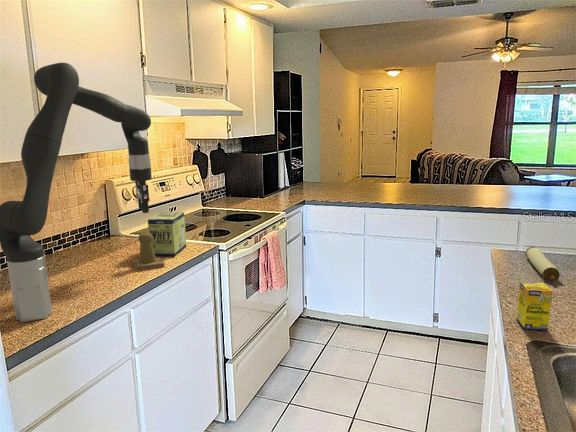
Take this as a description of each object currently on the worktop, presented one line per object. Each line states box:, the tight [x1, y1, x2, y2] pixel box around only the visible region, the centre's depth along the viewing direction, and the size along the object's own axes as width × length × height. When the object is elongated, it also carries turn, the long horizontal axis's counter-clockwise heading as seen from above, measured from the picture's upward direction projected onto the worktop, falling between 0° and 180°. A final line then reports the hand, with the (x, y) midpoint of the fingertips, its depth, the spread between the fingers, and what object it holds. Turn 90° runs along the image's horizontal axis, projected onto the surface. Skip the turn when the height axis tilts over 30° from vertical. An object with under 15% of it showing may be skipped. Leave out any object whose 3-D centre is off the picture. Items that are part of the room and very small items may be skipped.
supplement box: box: [516, 281, 553, 332], centre depth 117 cm, size 6×6×11 cm
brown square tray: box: [132, 257, 165, 272], centre depth 173 cm, size 10×10×2 cm
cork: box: [138, 232, 156, 264], centre depth 171 cm, size 6×6×11 cm
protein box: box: [147, 211, 187, 258], centre depth 189 cm, size 10×16×16 cm
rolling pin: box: [525, 246, 561, 283], centre depth 159 cm, size 32×6×5 cm, turn 164°
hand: (143, 210), depth 168 cm, fingers open, 8 cm apart
